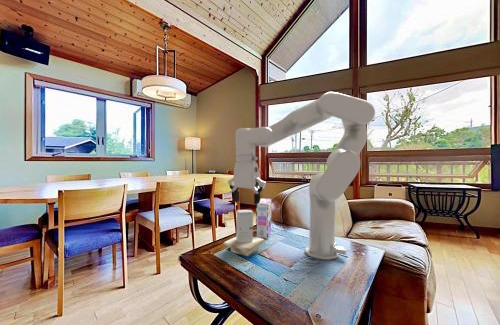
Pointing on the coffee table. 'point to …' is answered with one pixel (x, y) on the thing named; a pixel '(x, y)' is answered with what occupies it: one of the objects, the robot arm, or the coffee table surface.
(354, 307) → the coffee table surface
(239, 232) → the skincare box
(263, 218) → the candy box
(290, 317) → the coffee table surface
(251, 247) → the cream square tile
